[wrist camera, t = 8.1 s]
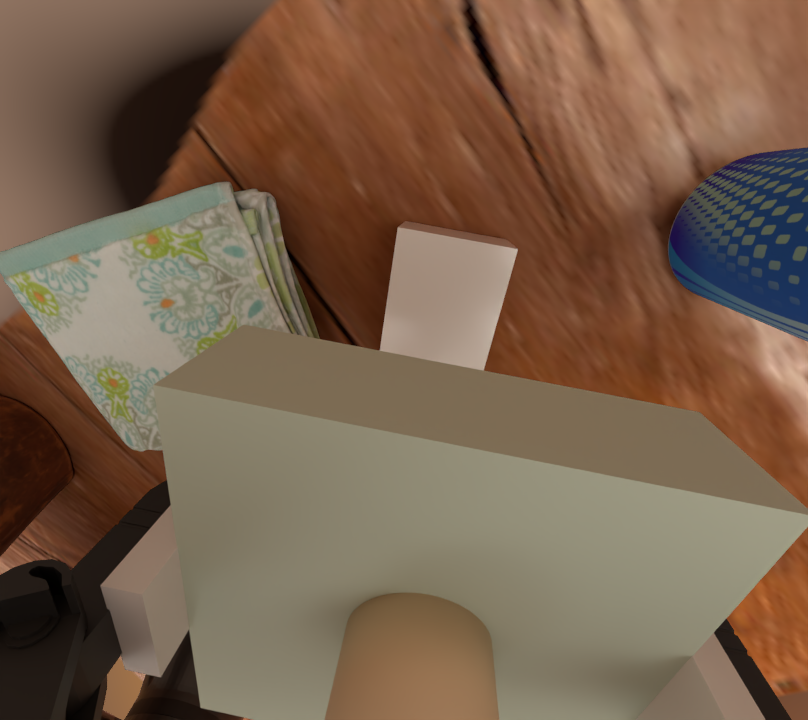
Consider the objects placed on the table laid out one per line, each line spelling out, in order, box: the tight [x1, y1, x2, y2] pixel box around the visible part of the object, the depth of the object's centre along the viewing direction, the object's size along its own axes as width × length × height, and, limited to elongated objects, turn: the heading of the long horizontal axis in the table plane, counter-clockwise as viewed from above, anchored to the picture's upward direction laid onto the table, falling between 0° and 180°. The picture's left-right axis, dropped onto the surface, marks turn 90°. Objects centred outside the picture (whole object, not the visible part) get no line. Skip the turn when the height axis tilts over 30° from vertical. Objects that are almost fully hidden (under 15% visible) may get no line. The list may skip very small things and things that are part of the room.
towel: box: [0, 182, 320, 451], centre depth 29 cm, size 18×21×5 cm
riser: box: [380, 221, 518, 371], centre depth 26 cm, size 7×12×4 cm, turn 171°
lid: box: [153, 324, 808, 720], centre depth 8 cm, size 10×10×5 cm
